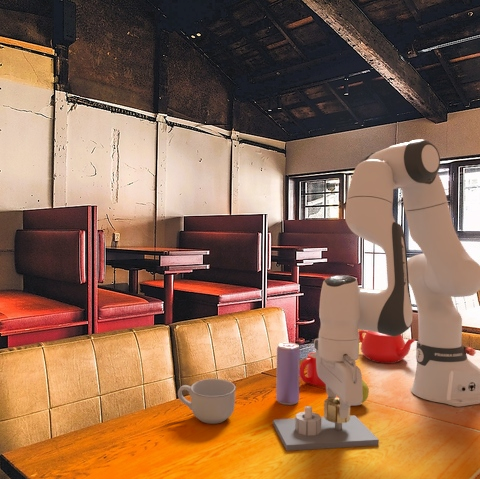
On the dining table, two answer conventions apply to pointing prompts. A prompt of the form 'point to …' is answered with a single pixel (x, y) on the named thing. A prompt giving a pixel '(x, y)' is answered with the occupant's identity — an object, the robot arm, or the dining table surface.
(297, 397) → the beverage can
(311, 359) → the mug
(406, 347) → the teapot
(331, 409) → the brass gear
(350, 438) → the gear board
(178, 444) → the dining table surface
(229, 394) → the teacup
